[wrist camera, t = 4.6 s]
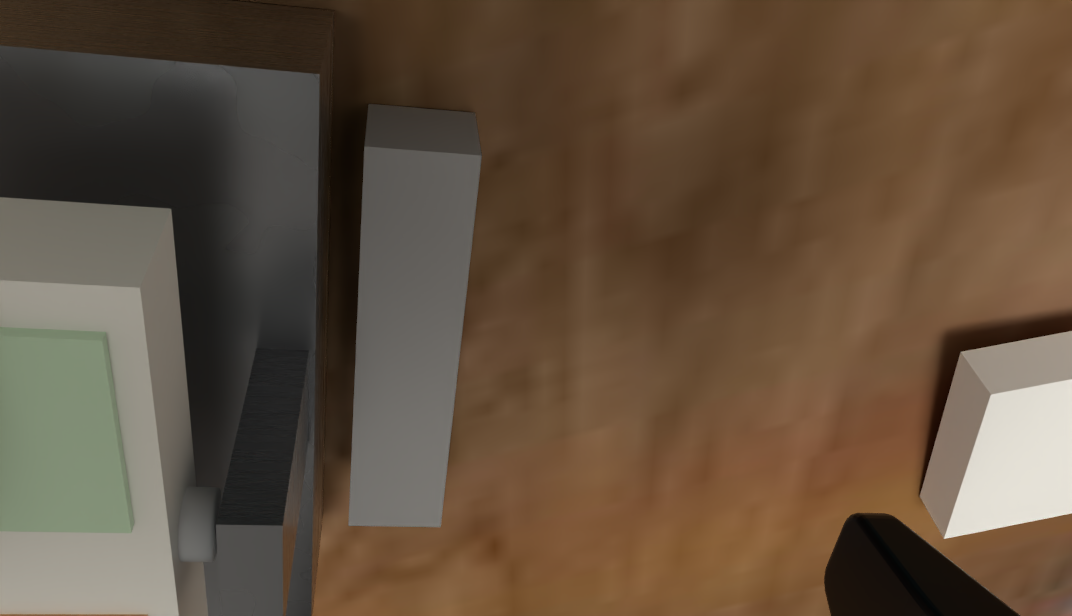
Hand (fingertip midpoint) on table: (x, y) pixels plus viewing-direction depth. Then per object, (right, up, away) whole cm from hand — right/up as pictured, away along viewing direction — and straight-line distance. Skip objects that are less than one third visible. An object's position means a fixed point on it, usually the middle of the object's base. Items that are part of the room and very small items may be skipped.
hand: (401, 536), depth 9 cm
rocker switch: (-5, -1, +4) cm, 7 cm away
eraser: (+10, +1, +11) cm, 15 cm away
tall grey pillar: (-1, +2, +9) cm, 10 cm away
